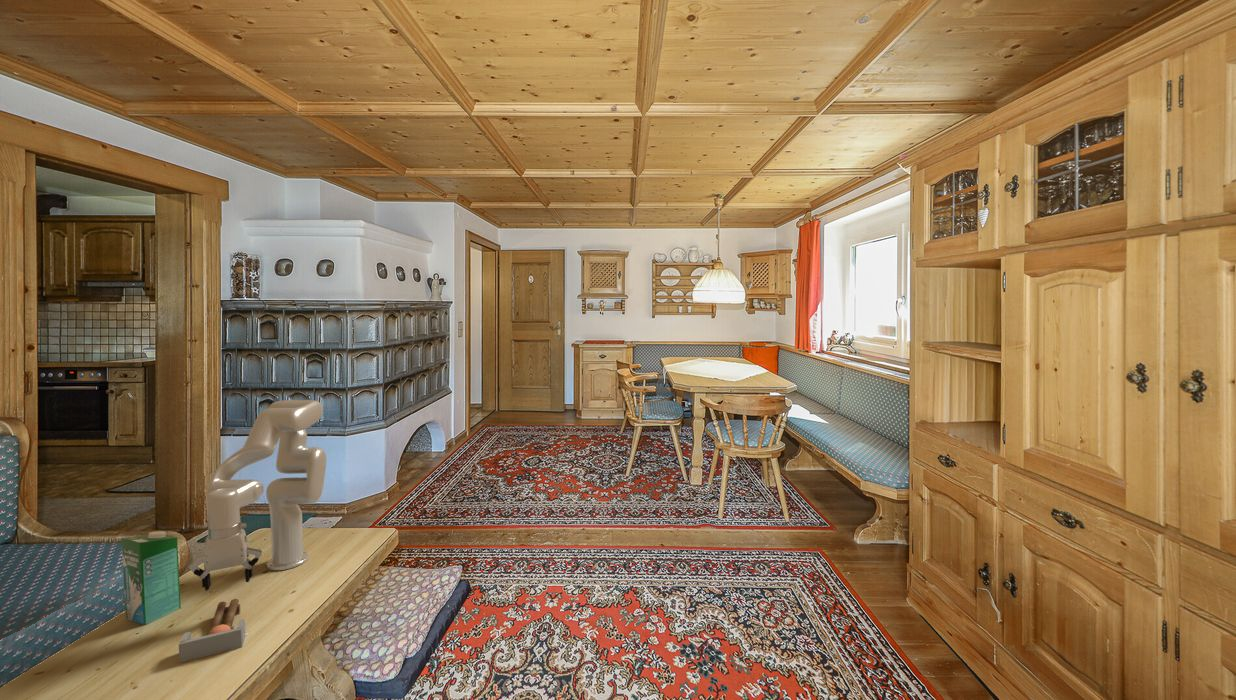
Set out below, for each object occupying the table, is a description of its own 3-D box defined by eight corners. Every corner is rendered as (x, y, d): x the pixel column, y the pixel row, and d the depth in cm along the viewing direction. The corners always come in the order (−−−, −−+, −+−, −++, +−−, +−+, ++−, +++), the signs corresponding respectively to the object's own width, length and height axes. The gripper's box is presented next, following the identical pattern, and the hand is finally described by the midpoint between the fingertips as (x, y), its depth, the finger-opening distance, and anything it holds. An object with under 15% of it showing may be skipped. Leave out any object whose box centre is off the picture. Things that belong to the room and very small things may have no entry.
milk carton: (181, 608, 148) (177, 529, 146) (144, 625, 140) (139, 542, 138) (162, 602, 151) (158, 525, 149) (125, 618, 143) (121, 537, 141)
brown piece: (217, 616, 144) (216, 602, 144) (240, 610, 147) (240, 597, 147) (206, 639, 134) (205, 624, 134) (231, 633, 137) (231, 618, 136)
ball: (200, 643, 130) (212, 623, 134) (219, 649, 133) (230, 629, 137) (207, 640, 128) (220, 620, 132) (227, 646, 131) (238, 626, 134)
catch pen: (185, 650, 129) (184, 632, 129) (245, 635, 136) (244, 618, 135) (179, 662, 125) (178, 644, 125) (241, 646, 131) (241, 629, 131)
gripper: (262, 519, 150) (265, 570, 152) (190, 531, 142) (195, 585, 144) (258, 529, 144) (261, 583, 146) (182, 542, 135) (187, 599, 137)
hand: (228, 584), depth 145 cm, fingers open, 9 cm apart
